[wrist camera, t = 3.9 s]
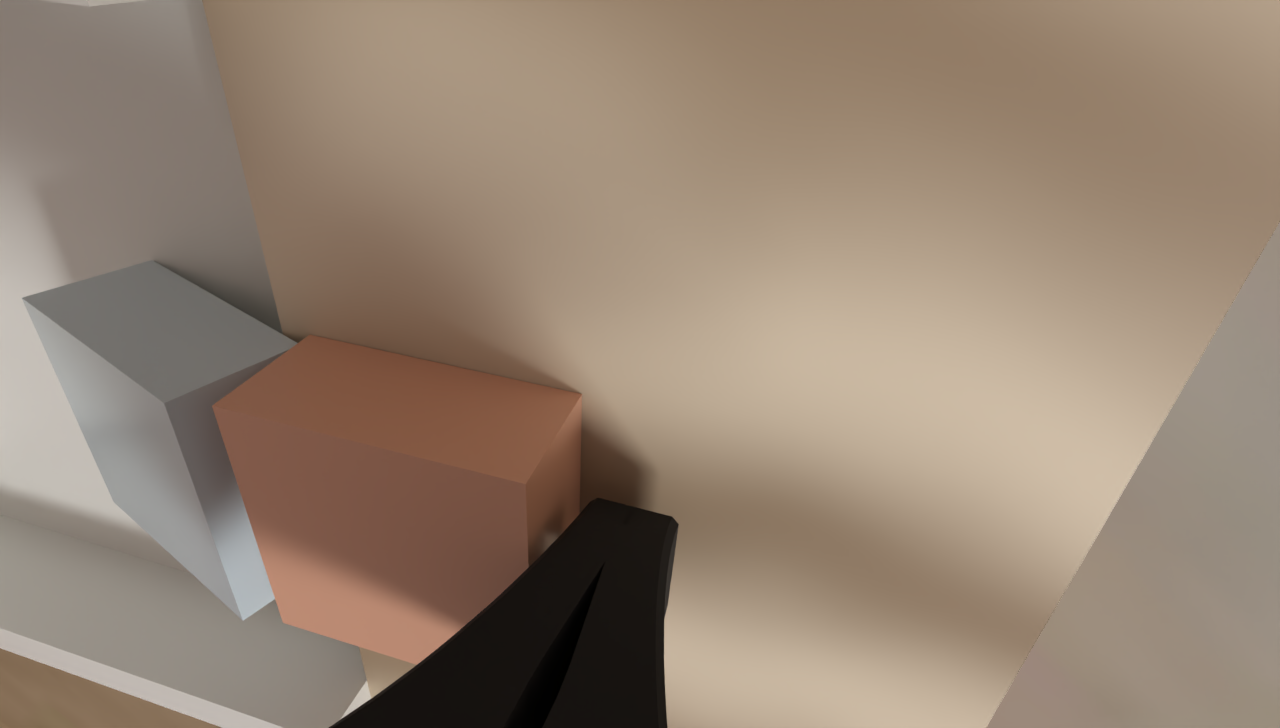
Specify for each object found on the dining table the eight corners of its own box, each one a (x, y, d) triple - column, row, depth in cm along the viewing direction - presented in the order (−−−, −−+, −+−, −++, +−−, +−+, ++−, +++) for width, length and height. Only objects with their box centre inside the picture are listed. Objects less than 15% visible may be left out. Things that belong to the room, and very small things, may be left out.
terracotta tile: (577, 600, 13) (533, 701, 11) (354, 538, 14) (282, 623, 12) (582, 394, 10) (525, 484, 9) (310, 334, 11) (212, 405, 9)
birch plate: (895, 783, 16) (897, 880, 14) (417, 635, 18) (373, 705, 17) (1291, -18, 7) (1407, 1, 6) (294, -100, 10) (177, -105, 8)
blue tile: (346, 550, 13) (243, 620, 12) (215, 451, 15) (113, 502, 14) (300, 344, 11) (163, 402, 10) (151, 259, 13) (21, 297, 12)
